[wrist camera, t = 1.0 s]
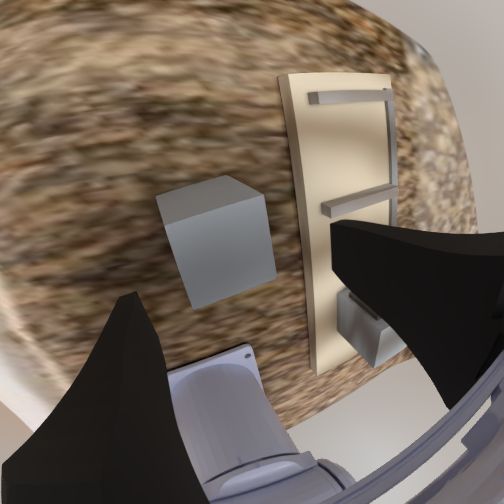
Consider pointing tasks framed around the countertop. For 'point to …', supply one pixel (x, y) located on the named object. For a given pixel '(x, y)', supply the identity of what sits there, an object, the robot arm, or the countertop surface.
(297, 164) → the rail
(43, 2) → the countertop surface
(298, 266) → the countertop surface
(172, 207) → the finger part
